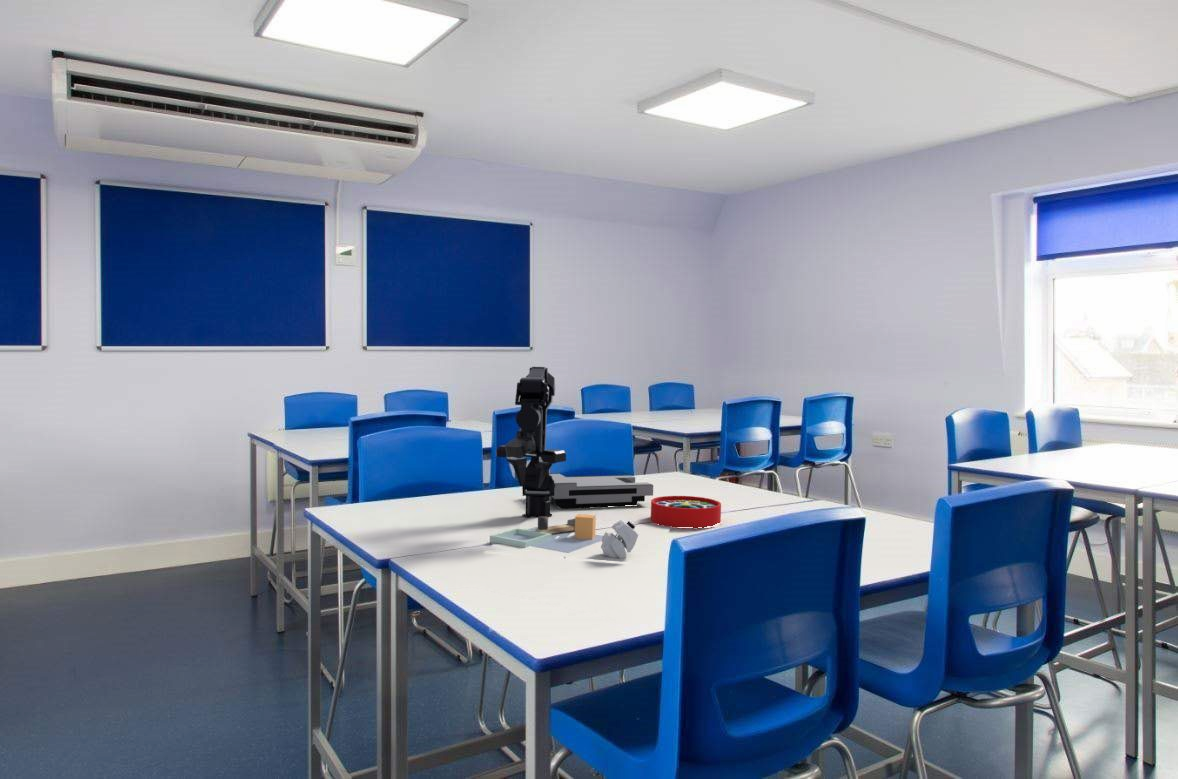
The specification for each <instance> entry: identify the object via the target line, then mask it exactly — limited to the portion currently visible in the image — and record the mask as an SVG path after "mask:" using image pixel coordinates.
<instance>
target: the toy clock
mask: <svg viewBox="0 0 1178 779" xmlns="http://www.w3.org/2000/svg"><path fill="white" fill-rule="evenodd" d="M650 501H651V502H650V522H651V521H652V522H651V523H653V524H654V523H656V524H655V525H657V524H659V525H658V526H660V525H664V526H663V527H671V526H672V527H693V528H698V527H702V528H704V527H707V526H713V525H715V524H717V523H720V522H721V523H722V503H721V502H720V501H718V500H715V499H712V498H708V497H703V496H702V497H701V496H694V495H693V496H692V495H666V496H665V495H663V496H657V497H655V498H652V499H650Z"/></svg>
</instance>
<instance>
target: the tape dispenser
mask: <svg viewBox="0 0 1178 779" xmlns="http://www.w3.org/2000/svg"><path fill="white" fill-rule="evenodd" d="M635 527H636V525H635V524H634V523H632V522H631V521H630V520H628V521H627V522H625V521H623V520H622V519H621V520H619V521H616V522H614V523H613V525H612V526H611V528H612V529H613V530H614V531H615V533H616V534H614V533H613V532H611V533H609V532H607V531H605V532H604V534H603V535H602V536H603V537H602V541H601V545H600V549H601V550H602V553H603V556H604V557H610V558H619V559H627V553H631V552H632V550H633V549H634V547H635V545H636V543H637V540H638V537H639V534H638V532H637V531H635Z"/></svg>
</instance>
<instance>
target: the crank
mask: <svg viewBox="0 0 1178 779" xmlns="http://www.w3.org/2000/svg"><path fill="white" fill-rule="evenodd" d="M537 527H538V528H536V529H535V531H538V532H544V533H550V534H553V533H559V532H566V531H575V517H574V518H571V519H567V522H566V523H564V524H557V525H549V517H546V516H540V517H537Z"/></svg>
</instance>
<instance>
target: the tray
mask: <svg viewBox="0 0 1178 779" xmlns="http://www.w3.org/2000/svg"><path fill="white" fill-rule="evenodd" d="M515 534H521V535H527V536H532V537H536V538H533V539H530V540H527V541H522V540H517V539H511V538H506V537H508V536H512V535H515ZM550 539H552V534H550V533H544V532H538V531H532V530H528V529H526V528H520V527H514V528H512V529H507V530H504V531H502V532H498V533H495V534H491V535H489V544H492V545H494V544H495V543H498V544H499V543H500V544H504V545H510V546H515V547H520V548H529V547H533V546H532V545H535V544H538V543H541V542H544V541H547V540H550Z"/></svg>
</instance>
